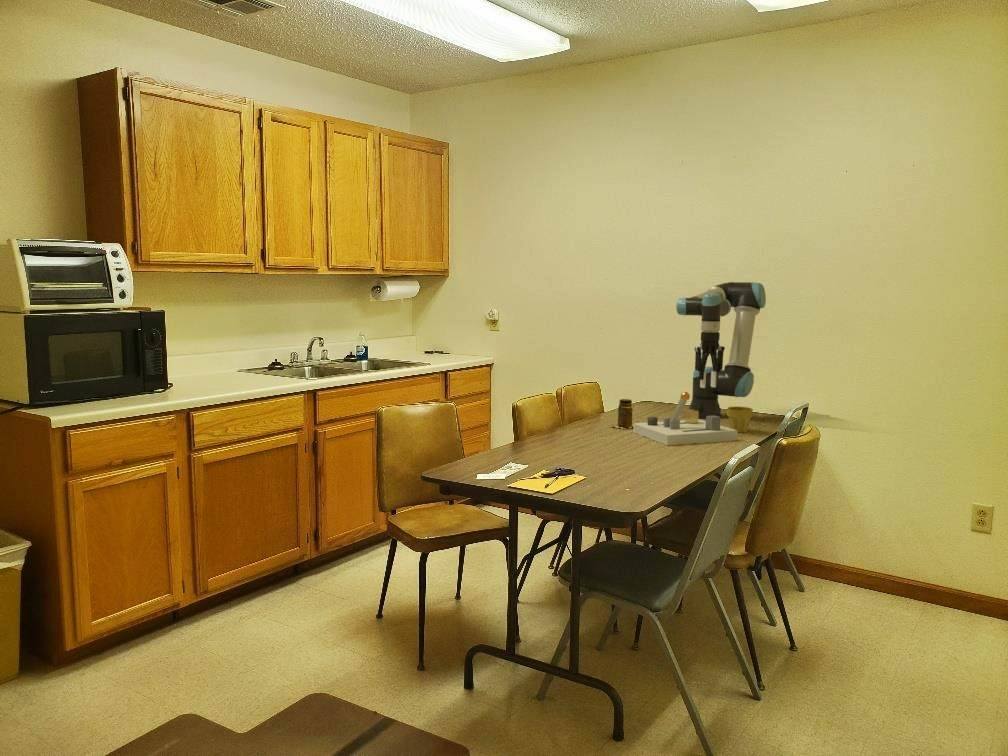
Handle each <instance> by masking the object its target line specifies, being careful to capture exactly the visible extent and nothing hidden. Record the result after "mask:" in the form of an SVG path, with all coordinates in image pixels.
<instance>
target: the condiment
mask: <svg viewBox="0 0 1008 756" xmlns="http://www.w3.org/2000/svg"><path fill="white" fill-rule="evenodd" d="M632 402H633V401H632V399H628V398H622V399H619V404H618V408H617V426H619V427H623V428H629V427H633V409H634V407H633V403H632Z"/></svg>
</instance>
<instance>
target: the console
mask: <svg viewBox="0 0 1008 756" xmlns="http://www.w3.org/2000/svg"><path fill="white" fill-rule="evenodd" d="M670 418H671V417H664V418H663V421H658V419H659V417H657V416H647V422H638V423H637V422H636V423H633V422H632V427H633V428H632V429H633V430H632V431H633V432H634V433H633V432H632V433H633V434H635V433H637V434H639V435H638V436H640V435H642V436H641V437H643V436H645V437H647V438H646V439H648V438H650V439H649V440H651V439H652V440H651V441H653V440H655V441H654V442H656V441H658V442H657V443H659V442H660V443H659V444H661V443H663V444H662V445H664V444H665V446H667V445H670V446H679V445H678V444H683V445H692V444H693V443H696V444H705V443H706V442H709V443H721V442H720V441H722V442H733V441H732V440H736V441H737V440H738V432H737V430H734V429H731V427H726V426H723V425H720V430H710V429H706V420H703V419H701V418H698V423H687V422H685V419H682V420H680V419H678V420H670ZM669 421H670V423H669ZM637 434H636V435H637ZM645 437H644V438H645ZM706 444H707V443H706ZM693 445H694V444H693Z"/></svg>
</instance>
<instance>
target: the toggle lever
mask: <svg viewBox="0 0 1008 756" xmlns="http://www.w3.org/2000/svg"><path fill="white" fill-rule="evenodd" d="M690 397H691V396H690V393H689V392H688V391H684V392H681V394H680V398H679V400H678V403H677V405H675V406H676V407H675V408H674V411H673V413H672V415H671V417H669V418H670V420H679V418H680V416H681V414H682V411H683V410H684V407H685V406H686V404H687V401H689V400H690ZM669 423H670V421H669Z"/></svg>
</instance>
